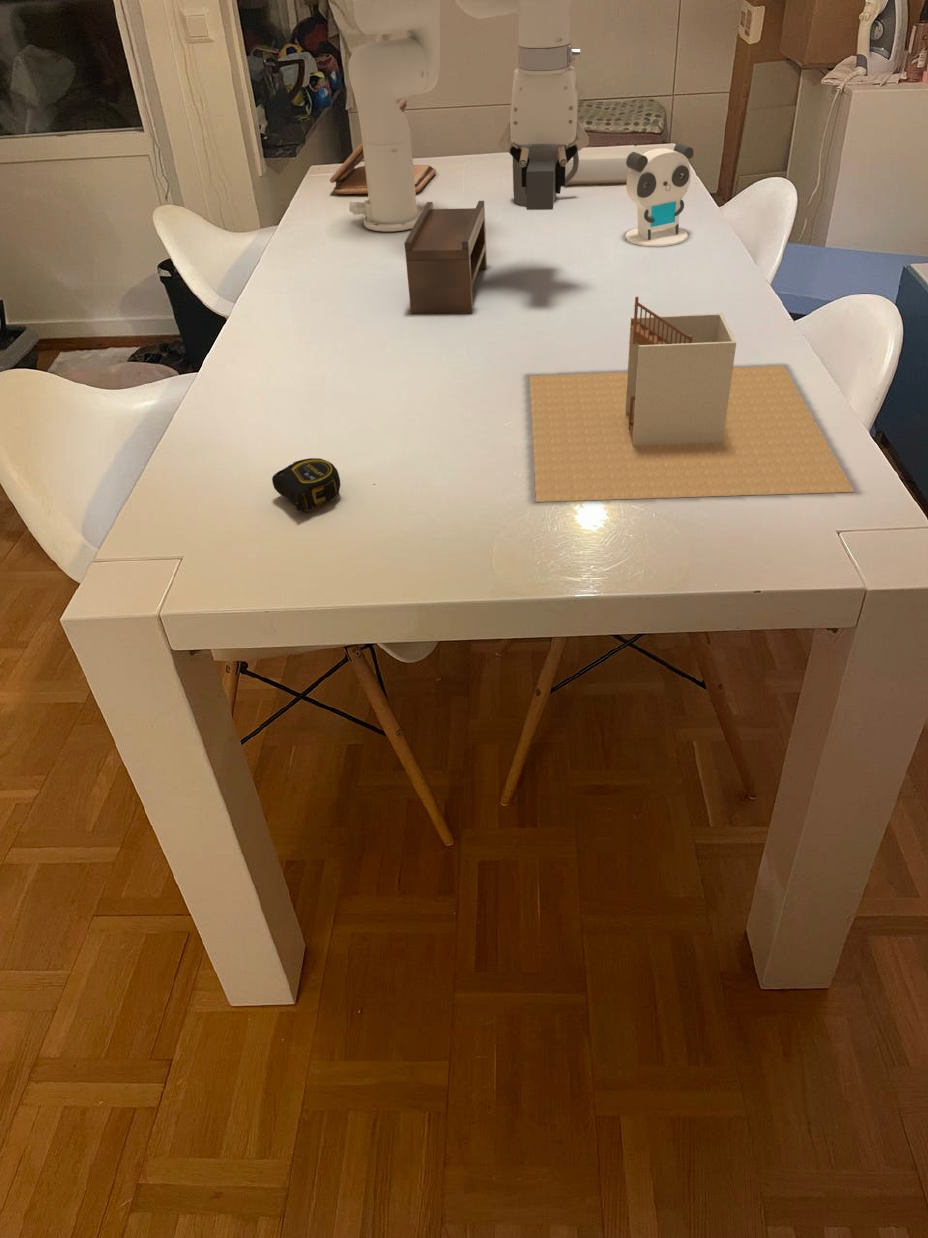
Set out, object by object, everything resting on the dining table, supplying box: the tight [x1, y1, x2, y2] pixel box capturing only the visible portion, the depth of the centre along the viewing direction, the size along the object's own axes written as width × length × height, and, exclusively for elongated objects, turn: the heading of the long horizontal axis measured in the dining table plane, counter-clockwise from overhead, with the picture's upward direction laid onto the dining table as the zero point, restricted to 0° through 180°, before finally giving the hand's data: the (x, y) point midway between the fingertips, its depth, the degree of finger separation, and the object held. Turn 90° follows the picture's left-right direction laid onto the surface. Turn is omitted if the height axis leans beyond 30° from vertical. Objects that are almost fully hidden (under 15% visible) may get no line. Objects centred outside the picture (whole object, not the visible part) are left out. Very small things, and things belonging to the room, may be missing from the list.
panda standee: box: [625, 143, 694, 248], centre depth 168 cm, size 12×11×15 cm
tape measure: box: [271, 457, 341, 514], centre depth 106 cm, size 7×7×4 cm
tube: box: [564, 157, 631, 187], centre depth 201 cm, size 5×5×25 cm
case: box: [329, 98, 437, 195], centre depth 207 cm, size 20×21×16 cm
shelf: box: [403, 200, 488, 315], centre depth 154 cm, size 10×22×11 cm, turn 173°
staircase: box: [624, 296, 737, 446], centre depth 110 cm, size 9×11×17 cm
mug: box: [512, 142, 580, 207], centre depth 191 cm, size 14×9×12 cm
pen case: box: [526, 145, 558, 211], centre depth 145 cm, size 4×18×6 cm, turn 173°
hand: (543, 190), depth 147 cm, fingers closed on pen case, 4 cm apart
